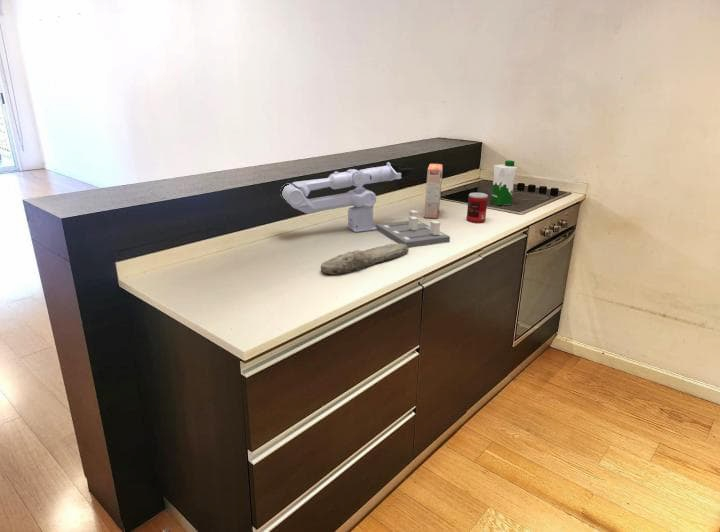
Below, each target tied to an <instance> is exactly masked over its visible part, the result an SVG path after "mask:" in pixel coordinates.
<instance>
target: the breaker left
mask: <svg viewBox="0 0 720 532" xmlns="http://www.w3.org/2000/svg"><path fill="white" fill-rule="evenodd" d="M408 213H409V214H408V218H409V217H413V216H414V217H416V218H418V214H419V211H417V210H414V209H412V210H409V211H408Z"/></svg>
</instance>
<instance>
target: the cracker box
mask: <svg viewBox="0 0 720 532" xmlns="http://www.w3.org/2000/svg"><path fill="white" fill-rule="evenodd" d="M442 181H443V164H441V163H429V165H428V167H427V173H426V186H425V188H426V189H425V203H424V216H423V217H424V219H434V220H435V219H438V217H439V212H440V204H441V192H442Z"/></svg>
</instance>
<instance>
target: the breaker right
mask: <svg viewBox="0 0 720 532" xmlns="http://www.w3.org/2000/svg"><path fill="white" fill-rule="evenodd" d="M440 226H441V222H439V221H437V220H431V221H430V233H431V234H433V235H439V231H440V229H441V228H440Z"/></svg>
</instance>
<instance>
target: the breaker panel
mask: <svg viewBox="0 0 720 532" xmlns="http://www.w3.org/2000/svg"><path fill="white" fill-rule="evenodd" d="M375 227H376V228H377V230H376V231H378V232H380V233H381V234H383V235H385V236H386V237H388V238H389V239H390V240H392V241H394V242H395V243H396V244H406V245H407V248H408V249H409V248H415V247H423V246H429V245H437V244H445V243H450V241H451V240H450V239H451V236H450V235H448V234H445V233H444V232H442V231H440V230H439V235H433V234H431V233H430V227H431V225H428V224H426V223H424V222H422V221H420V220H418V226H417V230H411V229H409V220H404V221H403V220H402V221H393V222H386V223H378V224H375Z"/></svg>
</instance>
